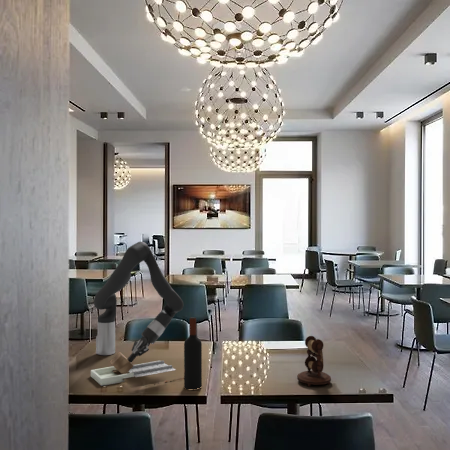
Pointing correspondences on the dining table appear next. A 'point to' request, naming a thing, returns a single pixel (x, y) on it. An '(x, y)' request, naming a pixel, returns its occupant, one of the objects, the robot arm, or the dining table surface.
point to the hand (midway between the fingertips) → (129, 361)
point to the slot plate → (150, 368)
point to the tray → (108, 376)
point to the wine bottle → (192, 359)
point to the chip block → (121, 363)
